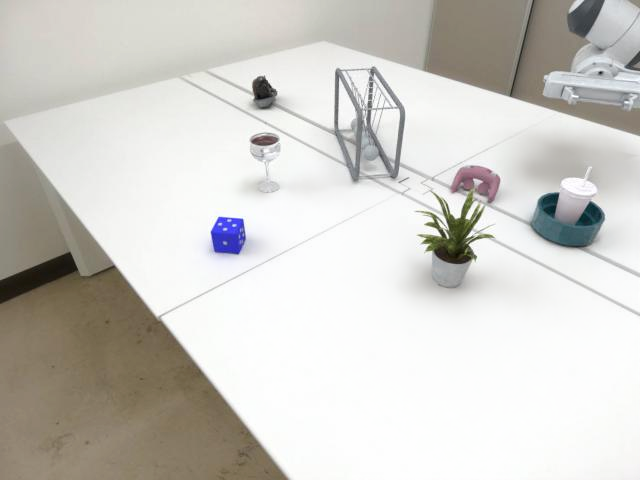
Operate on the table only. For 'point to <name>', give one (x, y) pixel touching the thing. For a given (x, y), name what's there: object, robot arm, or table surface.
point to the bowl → (563, 232)
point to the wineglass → (266, 155)
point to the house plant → (453, 243)
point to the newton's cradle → (358, 124)
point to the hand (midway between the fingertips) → (599, 103)
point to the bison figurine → (263, 92)
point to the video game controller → (480, 173)
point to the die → (228, 235)
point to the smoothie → (574, 198)
